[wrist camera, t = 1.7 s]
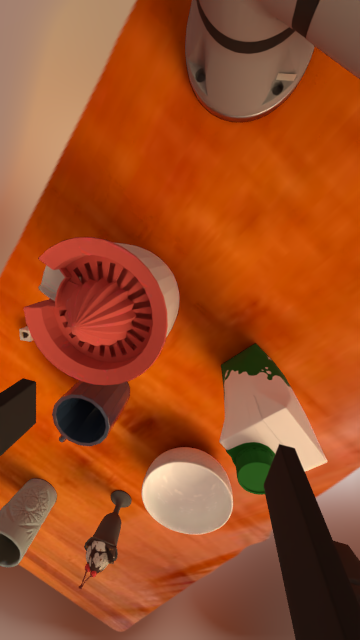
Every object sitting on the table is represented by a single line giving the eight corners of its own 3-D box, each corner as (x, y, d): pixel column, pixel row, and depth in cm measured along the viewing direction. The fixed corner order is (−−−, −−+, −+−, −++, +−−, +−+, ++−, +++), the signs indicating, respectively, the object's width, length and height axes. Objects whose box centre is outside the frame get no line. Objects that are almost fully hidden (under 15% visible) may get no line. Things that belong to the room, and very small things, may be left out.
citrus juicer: (109, 220, 38) (0, 187, 19) (204, 272, 38) (192, 292, 19) (78, 304, 42) (-35, 345, 23) (162, 350, 42) (118, 429, 23)
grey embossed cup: (31, 506, 60) (-13, 566, 49) (16, 475, 58) (-34, 530, 46) (65, 506, 58) (28, 568, 47) (51, 473, 56) (9, 531, 44)
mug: (102, 357, 45) (73, 383, 36) (139, 390, 45) (120, 424, 36) (66, 397, 49) (31, 430, 40) (101, 427, 49) (75, 466, 40)
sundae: (105, 503, 56) (66, 589, 41) (111, 483, 53) (72, 567, 39) (130, 513, 55) (101, 604, 41) (138, 494, 53) (109, 582, 39)
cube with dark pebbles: (28, 325, 45) (18, 329, 43) (38, 327, 45) (28, 331, 43) (29, 335, 46) (19, 340, 43) (39, 337, 46) (29, 342, 43)
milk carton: (213, 363, 42) (210, 456, 23) (257, 335, 39) (296, 413, 20) (242, 399, 43) (263, 517, 24) (287, 374, 40) (350, 484, 21)
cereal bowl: (229, 503, 50) (231, 542, 43) (153, 493, 52) (144, 528, 46) (232, 437, 45) (235, 469, 38) (148, 429, 48) (137, 458, 41)
